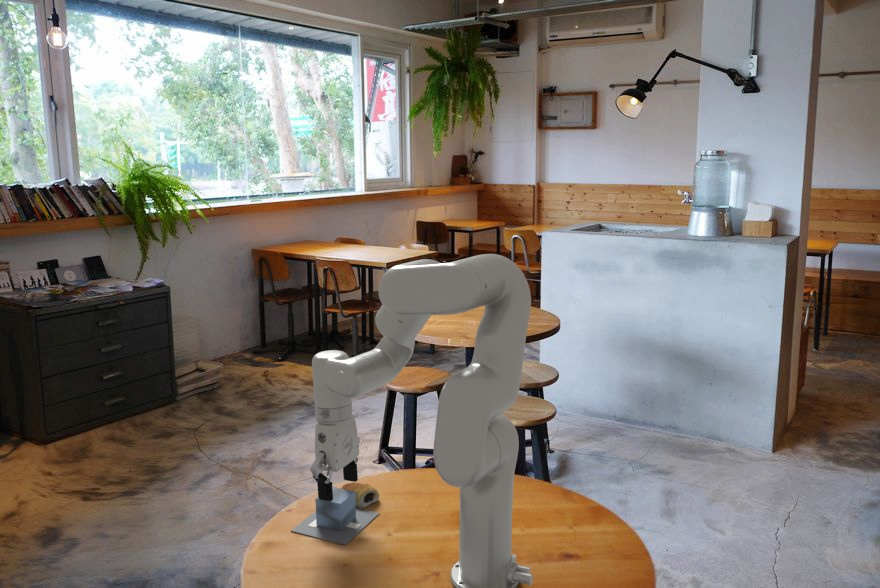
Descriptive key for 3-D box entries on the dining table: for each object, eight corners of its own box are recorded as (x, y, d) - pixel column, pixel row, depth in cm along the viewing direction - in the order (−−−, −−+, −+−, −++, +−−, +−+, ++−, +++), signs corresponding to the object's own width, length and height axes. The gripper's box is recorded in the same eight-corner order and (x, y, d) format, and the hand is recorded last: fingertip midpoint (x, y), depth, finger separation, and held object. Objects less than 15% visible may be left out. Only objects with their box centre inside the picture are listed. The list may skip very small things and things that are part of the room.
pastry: (333, 496, 173) (333, 480, 172) (357, 487, 178) (357, 472, 177) (358, 511, 166) (358, 495, 166) (383, 501, 171) (382, 485, 170)
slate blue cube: (355, 517, 162) (355, 491, 161) (341, 530, 157) (340, 503, 156) (331, 512, 165) (330, 486, 164) (316, 524, 159) (315, 498, 158)
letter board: (379, 513, 165) (379, 512, 164) (345, 545, 152) (345, 543, 152) (327, 502, 170) (327, 500, 170) (291, 531, 157) (291, 530, 157)
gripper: (326, 428, 146) (331, 511, 150) (370, 400, 162) (374, 476, 165) (293, 423, 149) (299, 504, 153) (340, 396, 165) (344, 471, 168)
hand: (338, 489), depth 159 cm, fingers open, 9 cm apart
